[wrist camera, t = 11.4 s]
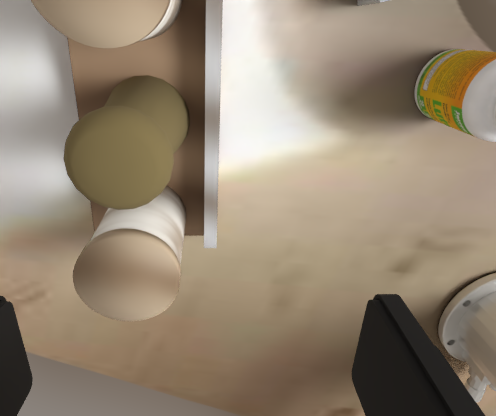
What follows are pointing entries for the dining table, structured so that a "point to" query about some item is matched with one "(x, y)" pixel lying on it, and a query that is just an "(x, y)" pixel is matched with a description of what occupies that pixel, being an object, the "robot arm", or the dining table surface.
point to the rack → (185, 158)
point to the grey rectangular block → (368, 2)
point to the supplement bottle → (460, 91)
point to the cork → (128, 143)
